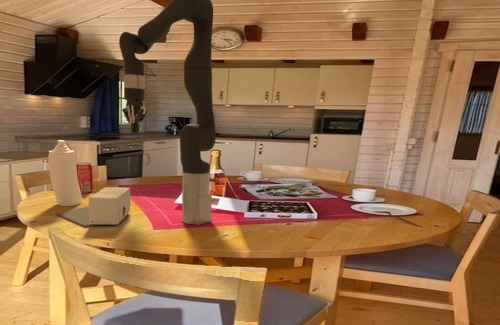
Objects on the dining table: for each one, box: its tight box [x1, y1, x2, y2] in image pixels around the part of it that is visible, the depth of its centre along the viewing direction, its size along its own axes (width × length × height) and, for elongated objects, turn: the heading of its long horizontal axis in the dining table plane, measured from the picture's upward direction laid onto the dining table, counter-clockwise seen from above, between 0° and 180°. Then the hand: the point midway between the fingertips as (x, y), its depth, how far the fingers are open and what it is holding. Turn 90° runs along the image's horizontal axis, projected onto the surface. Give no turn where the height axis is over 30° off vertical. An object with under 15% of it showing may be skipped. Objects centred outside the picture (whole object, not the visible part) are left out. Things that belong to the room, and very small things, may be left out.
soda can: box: [76, 161, 94, 194], centre depth 144 cm, size 7×7×13 cm
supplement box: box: [88, 186, 131, 225], centre depth 108 cm, size 9×9×15 cm
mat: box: [55, 205, 127, 228], centre depth 111 cm, size 20×14×1 cm
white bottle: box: [48, 139, 84, 207], centre depth 123 cm, size 12×11×25 cm
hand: (134, 132), depth 125 cm, fingers closed
